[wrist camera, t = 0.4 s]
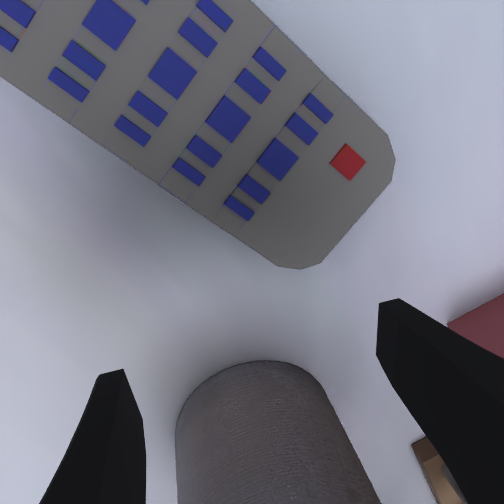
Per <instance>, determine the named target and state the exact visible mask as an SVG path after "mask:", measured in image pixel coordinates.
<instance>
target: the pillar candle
mask: <svg viewBox="0 0 504 504" xmlns="http://www.w3.org/2000/svg"><path fill="white" fill-rule="evenodd" d="M175 452H176V477H177V498H178V504H381V502H380V500H379V498H378V496H377V494H376V492H375V490H374V488H373V486H372V483H371V482H370V480H369V478H368V476H367V474H366V472H365V470H364V468H363V466H362V464H361V462H360V460H359V458H358V456H357V454H356V452H355V450H354V448H353V446H352V444H351V442H350V440H349V438H348V436H347V434H346V432H345V430H344V428H343V426H342V424H341V422H340V421H339V418H338V416H337V415H336V412H335V410H334V408H333V406H332V405H331V403H330V401H329V399H328V397H327V395H326V393H325V391H324V389H323V388H322V386H321V385H320V384H319V382H318V381H317V380H316V379H315V378H314V377H313V376H312V375H310V374H309V373H308V372H306V371H305V370H303V369H301V368H299V367H297V366H294V365H291V364H289V363H282V362H278V361H255V362H249V363H244V364H240V365H236V366H233V367H231V368H228V369H226V370H223V371H221V372H220V373H218V374H216V375H214V376H212V377H210V378H209V379H207V380H206V381H205V382H203V384H202V385H200V386H199V387H198V388H197V389H195V390H194V391H193V393H192V394H191V395H190V396H189V398H188V399H187V401H186V403H185V405H184V407H183V409H182V412H181V414H180V417H179V419H178V422H177V426H176V434H175Z"/></svg>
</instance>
